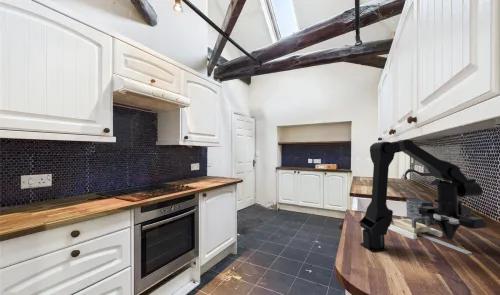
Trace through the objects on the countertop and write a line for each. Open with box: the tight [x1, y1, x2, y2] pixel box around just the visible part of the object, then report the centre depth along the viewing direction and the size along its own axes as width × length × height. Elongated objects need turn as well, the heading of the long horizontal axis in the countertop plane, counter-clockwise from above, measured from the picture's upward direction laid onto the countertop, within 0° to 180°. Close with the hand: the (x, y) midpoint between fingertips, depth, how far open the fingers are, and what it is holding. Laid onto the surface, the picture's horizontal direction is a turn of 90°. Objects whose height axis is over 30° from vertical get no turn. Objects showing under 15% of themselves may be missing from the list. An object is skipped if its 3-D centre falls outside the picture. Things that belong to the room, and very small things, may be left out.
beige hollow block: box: [394, 217, 431, 235], centre depth 92 cm, size 8×10×7 cm
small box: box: [405, 197, 435, 225], centre depth 106 cm, size 11×6×10 cm, turn 179°
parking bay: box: [388, 218, 473, 255], centre depth 85 cm, size 14×29×3 cm, turn 9°
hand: (449, 239), depth 77 cm, fingers closed
